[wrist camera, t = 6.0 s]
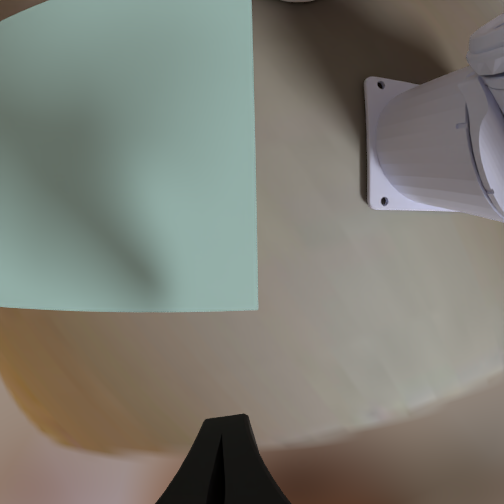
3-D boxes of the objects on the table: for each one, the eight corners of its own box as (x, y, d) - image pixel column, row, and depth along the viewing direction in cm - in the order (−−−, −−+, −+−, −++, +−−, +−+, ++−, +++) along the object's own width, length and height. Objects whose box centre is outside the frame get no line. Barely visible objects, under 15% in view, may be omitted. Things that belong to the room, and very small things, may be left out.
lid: (249, -28, 10) (250, -34, 10) (257, 304, 14) (258, 310, 13) (-11, 32, 10) (-17, 29, 9) (-9, 301, 13) (-15, 305, 13)
